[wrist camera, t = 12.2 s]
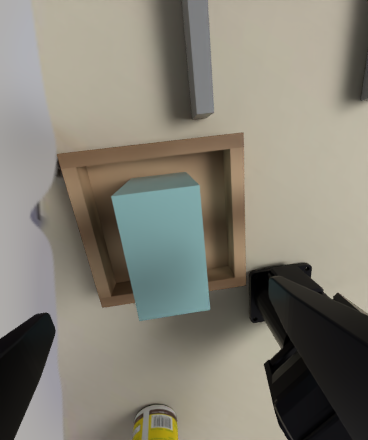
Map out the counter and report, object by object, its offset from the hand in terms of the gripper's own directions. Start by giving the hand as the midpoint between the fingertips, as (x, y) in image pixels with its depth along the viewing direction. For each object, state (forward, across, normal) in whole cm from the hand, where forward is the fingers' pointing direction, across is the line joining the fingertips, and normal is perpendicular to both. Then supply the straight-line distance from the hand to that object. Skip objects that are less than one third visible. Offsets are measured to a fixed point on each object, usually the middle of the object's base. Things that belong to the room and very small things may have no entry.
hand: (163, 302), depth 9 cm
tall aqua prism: (+11, 0, 0) cm, 11 cm away
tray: (+11, 0, 0) cm, 11 cm away
